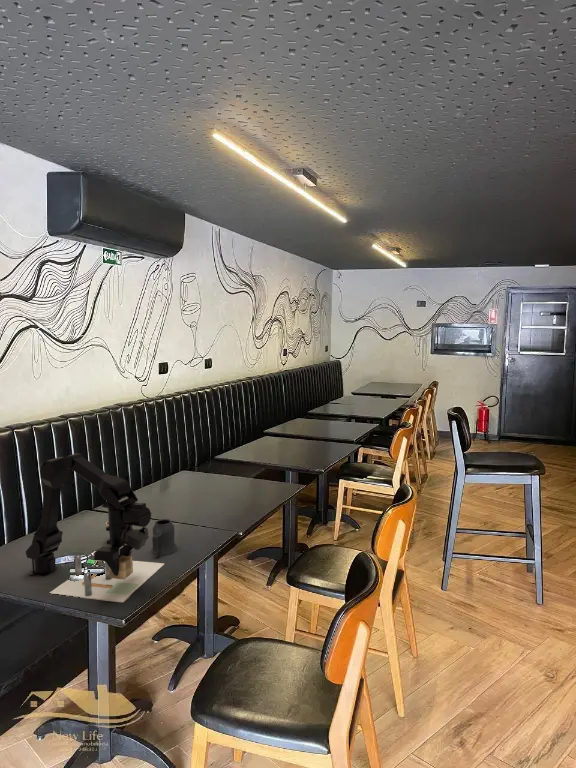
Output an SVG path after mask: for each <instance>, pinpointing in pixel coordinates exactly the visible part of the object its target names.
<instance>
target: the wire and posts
mask: <svg viewBox="0 0 576 768" xmlns="http://www.w3.org/2000/svg"><path fill="white" fill-rule="evenodd" d="M73 558H74V572H75V573H74V575H76V576H79V575H81V572H82V569H83V568H82V555H81V554H76V555H74V556H73ZM96 575H97V574H93V575H92V576H91V573H89V572H88V573H85V574H84V582H82V585H84V588H85V596H91V595H92V586H93V587H103V588H111V587H113V585H106V584H97V583H91V580H92V579H93V578H94V577H95V576H96ZM105 578H106V580H110V579H112V578H110V575H109V566H108V564H107V563H106V562H105Z"/></svg>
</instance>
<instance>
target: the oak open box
mask: <svg viewBox="0 0 576 768" xmlns="http://www.w3.org/2000/svg"><path fill="white" fill-rule="evenodd" d="M133 561H134V560H133V556H130V557H129V556H122V557H121V558H120V559H119V573H118V576H115V575H114V574H113V572H112V571H111V569H110V567H109V575H110V578H115V579H124V580H125V579H126V578H127V577H128V576H129V575H130V574H132V573H133Z"/></svg>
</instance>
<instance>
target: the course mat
mask: <svg viewBox="0 0 576 768" xmlns="http://www.w3.org/2000/svg"><path fill="white" fill-rule="evenodd" d="M132 561H133V573H132V574H130V575H129V576H128V577H127V578H126V579H125V580H124V579H115V578H112V579H110V580H106V578H105V574H103V575H100V576H96V577H94V578H93V579H92V580H91V583H97V584H106V585H113V587H111V588H103V587H93V586H92V595H91V596H85V588H84V585H82V582H84V579H82V580H79V581H75V582H74V581H70V580H68V579H67V580H66V581H64V582H63V583H61V584H60V585H58V586H56V587H55V588H54V589H53V590H51V591H50V592H49V593H51V594H50V595H52V594H59V595H58V596H61V595H66V596H65V597H69V596H73V597H72V598H78V597H80V599H81V598H82V599H88V600H89V599H90V600H98V601H106V602H114V603H115V602H116V603H122V604H123V603H124V602H126V601H127V600H128V599H129V598H131V595H132V594H133V593H134V592H136V590H138V589H139V588H140V587H141V586H142V585H143V584H144V583H145V582H146V581H148V579H150V578H151V577H152V576H153V575H154V574H155V573H157V572H158V570H159V569H161V568H162V567H163V566H164V565H165V563H164V562H162V563H161V562H154V561H153V562H152V561H151V562H150V561H141V560H132ZM104 562H105V561H104Z"/></svg>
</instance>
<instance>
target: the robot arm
mask: <svg viewBox="0 0 576 768" xmlns="http://www.w3.org/2000/svg"><path fill="white" fill-rule="evenodd" d="M70 470H72V471H73V472H75V473H76V474H77V475H79V476H80V477H81V478H83V479H84V480H86V481H87V482H89V483H90V484H91V485H93V486H94V487H95V488H96V489H97V490H98V492H99V493H98V494H99V495H100V496H101V497H102V498H103V499H104V501H105V503H103V504H101V507H102V508H104V509H105V508H106V509H107V516H108V517H107V518H108V521H109V526H108V527H107V526H106V527H105V530H106V531H107V532H108V533H109V536H108V537H109V538H108V539H107V540H106V544H107V545H110V546H104V545H103V546H101V547H99V548H98V549H97V550H96V551H95V552H94V553H93V560H94V561H95V560H96V561H105V562H106V563H107V564H108V566H109V567H110V569H111V571H112V572H113V574H114V575H115V576H118V573H119V559H120V558H121V557H122V556H129V557H132V556H131V555H132V552H133V550H136V551H138V550H141V548H143V547H144V546H145V545H146V542H147V540H148V539H149V538H150V536H149V529H148V528H147V526H148V525H149V524H150V522H151V519H152V512H151V510H150V508H149V507H147V503H146V502H138V501H139V498H138V497H137V496H136V494H135V493H134V490H133V489H132V487H131V486H130V483H129V482H128V481H127V480H126V479H124V478H122V477H119V476H115V475H112V474H111V475H110V474H109V473H106V472H105V471H103V469H101V468H99V467H98V466H97V465H95V464H94V463H92V462H91V461H90V460H88V459H86V458H85V457H84V456H83V455H82V454H81V453H78V452H77V453H73V454H69V455H67V456H66V457H65V456H59V457H55V458H52V459H48V460H45V461H43V462H42V463H41V465H40V478H41V481H42V482H43V484H44V490H43V491H44V492H43V500H42V508H41V514H40V515H41V516H40V524H39V526H38V528H37V530H36V531H35V532H34V534H33V537H32V540H31V544H30V546H29V547H28V548H27V549H26V550H25V555H26V558H27V559H31V568H32V570H31V571H30V573H31V574H32V575H31V576H33V575H34V576H38V575H39V577H47V576H49V575H51V574H52V573H53V572H54V570H55V571H56V570H58V569H59V567H58V566H56V565H57V564H56V557H55V553H54V552H58V551H59V546H60V545H61V543H63V534H64V533H63V530H60V528H59V527H58V525H57V524H58V517H59V509H60V500H61V495H62V487H63V484H64V482H65V481H66V480H67V479H68V478H69V477H68V476H69V473H70ZM125 498H126V499H125ZM133 526H134V527H135V526H136V527H140V529H138V528H137V529H134V528H133ZM57 568H58V569H57ZM30 573H29V574H30ZM29 574H28V575H29Z"/></svg>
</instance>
